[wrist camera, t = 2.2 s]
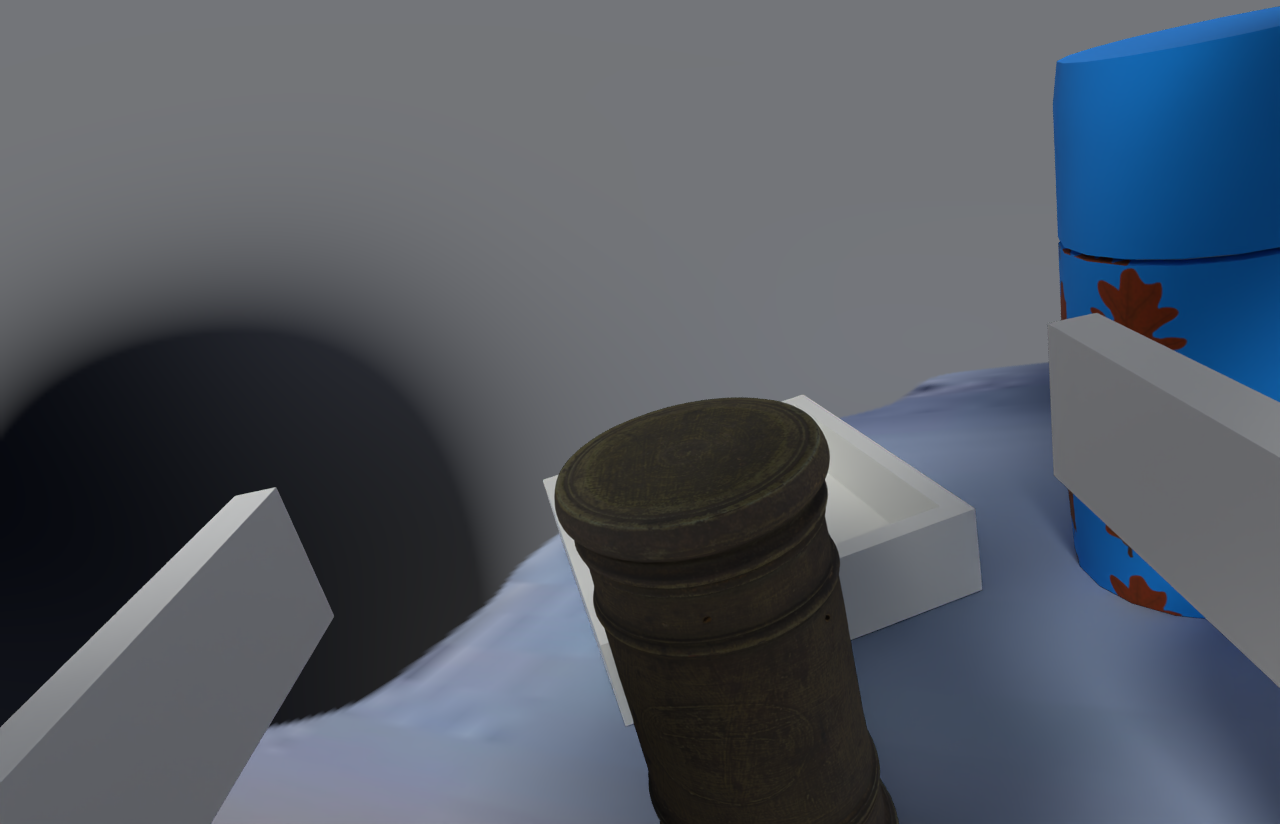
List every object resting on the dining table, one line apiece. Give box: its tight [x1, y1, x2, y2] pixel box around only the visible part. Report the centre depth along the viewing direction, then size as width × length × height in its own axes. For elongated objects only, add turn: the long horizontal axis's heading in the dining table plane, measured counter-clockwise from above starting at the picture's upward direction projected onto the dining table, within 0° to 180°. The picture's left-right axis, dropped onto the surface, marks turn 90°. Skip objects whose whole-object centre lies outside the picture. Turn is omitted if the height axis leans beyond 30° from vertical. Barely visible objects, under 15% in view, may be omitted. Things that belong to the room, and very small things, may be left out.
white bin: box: [543, 395, 982, 726], centre depth 49 cm, size 20×20×5 cm
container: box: [554, 398, 899, 824], centre depth 27 cm, size 9×9×18 cm
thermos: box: [1053, 6, 1280, 619], centre depth 36 cm, size 11×11×25 cm
